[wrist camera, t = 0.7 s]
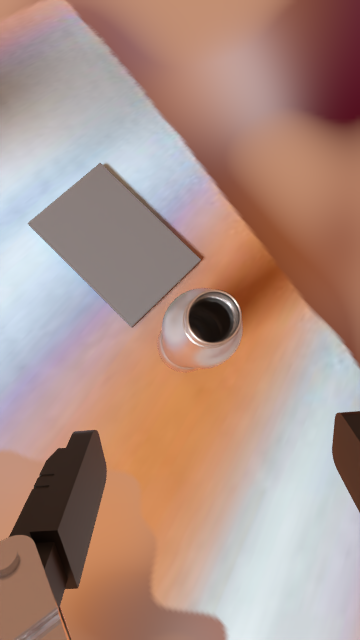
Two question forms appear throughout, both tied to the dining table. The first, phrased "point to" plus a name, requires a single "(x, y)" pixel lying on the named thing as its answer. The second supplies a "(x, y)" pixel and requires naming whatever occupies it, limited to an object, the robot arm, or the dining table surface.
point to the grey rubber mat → (115, 244)
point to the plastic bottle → (200, 330)
